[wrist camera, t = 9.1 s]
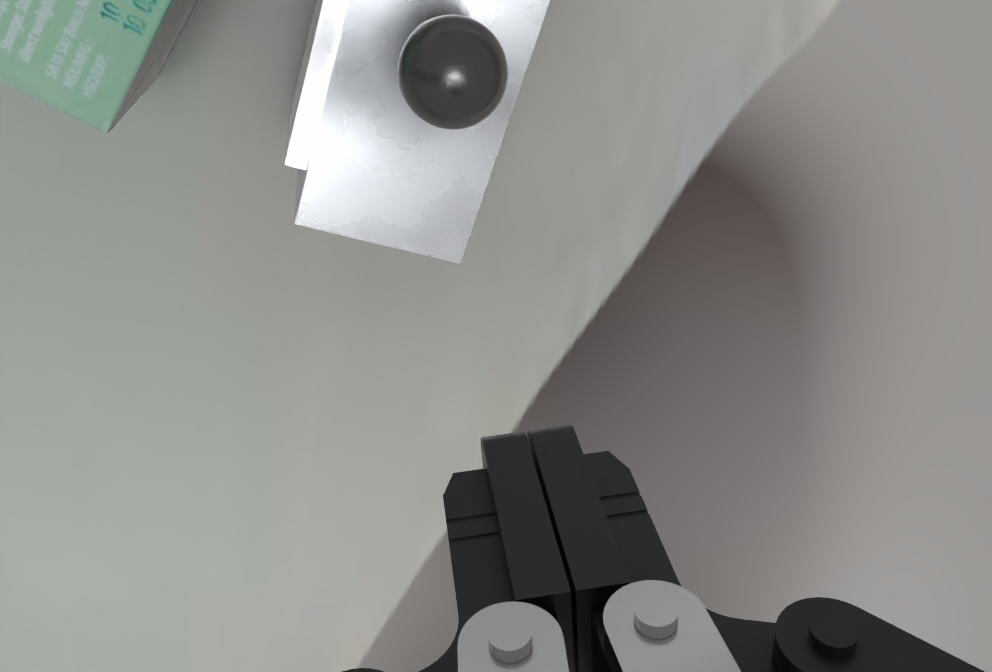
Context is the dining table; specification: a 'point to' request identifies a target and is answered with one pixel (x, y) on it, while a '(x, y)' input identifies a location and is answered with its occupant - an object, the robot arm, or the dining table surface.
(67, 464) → the dining table surface
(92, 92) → the box
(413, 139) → the sliding jaw
